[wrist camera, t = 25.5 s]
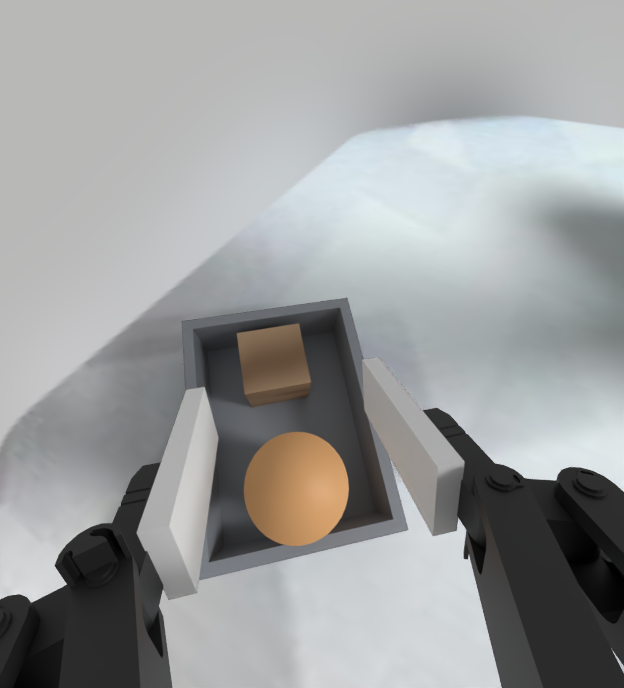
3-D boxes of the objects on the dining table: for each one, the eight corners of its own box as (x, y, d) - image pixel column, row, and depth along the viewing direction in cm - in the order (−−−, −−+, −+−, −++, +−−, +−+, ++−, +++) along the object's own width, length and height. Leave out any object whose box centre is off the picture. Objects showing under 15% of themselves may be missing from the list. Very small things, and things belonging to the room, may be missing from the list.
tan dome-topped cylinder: (280, 439, 28) (273, 415, 17) (333, 464, 27) (363, 457, 16) (252, 498, 26) (224, 515, 15) (309, 526, 26) (324, 566, 15)
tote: (200, 348, 32) (181, 321, 26) (337, 327, 33) (347, 297, 28) (216, 557, 25) (196, 580, 20) (384, 518, 27) (408, 530, 22)
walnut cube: (244, 354, 31) (236, 333, 26) (297, 345, 31) (298, 323, 27) (252, 407, 29) (244, 394, 24) (307, 396, 29) (311, 382, 25)
